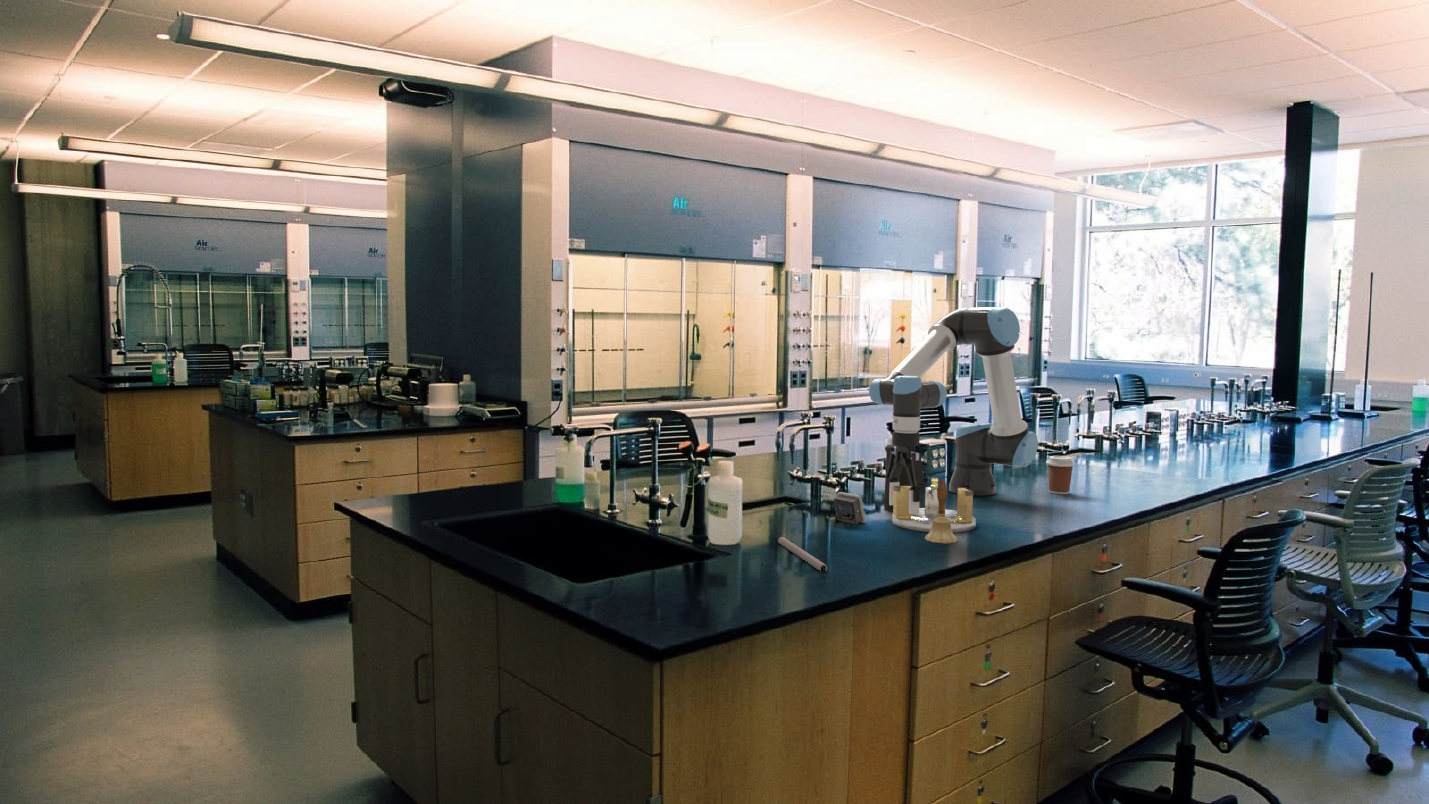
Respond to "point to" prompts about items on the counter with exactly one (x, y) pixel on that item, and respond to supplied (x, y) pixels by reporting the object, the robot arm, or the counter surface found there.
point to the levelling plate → (928, 522)
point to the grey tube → (802, 554)
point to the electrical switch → (849, 508)
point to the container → (903, 481)
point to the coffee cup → (1060, 474)
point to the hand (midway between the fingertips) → (903, 509)
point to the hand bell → (941, 520)
